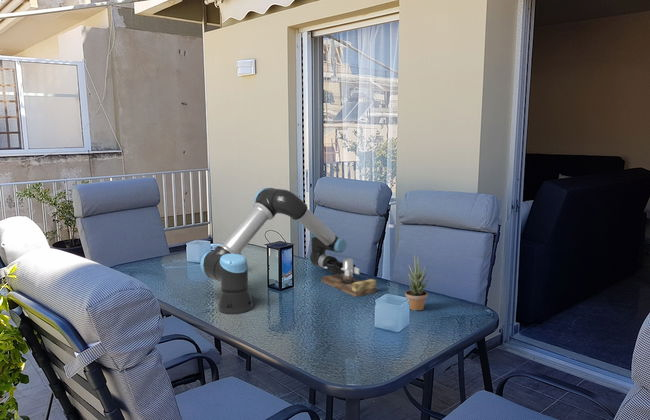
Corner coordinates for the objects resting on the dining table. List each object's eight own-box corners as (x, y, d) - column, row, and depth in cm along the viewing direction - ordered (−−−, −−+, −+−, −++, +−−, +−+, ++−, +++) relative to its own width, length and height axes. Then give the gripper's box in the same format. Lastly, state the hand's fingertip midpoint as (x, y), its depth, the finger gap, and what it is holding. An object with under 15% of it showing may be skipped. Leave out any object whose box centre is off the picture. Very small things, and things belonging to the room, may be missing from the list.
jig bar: (355, 296, 242) (355, 284, 242) (321, 281, 268) (321, 270, 267) (376, 292, 249) (376, 280, 248) (341, 277, 274) (341, 266, 273)
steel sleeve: (346, 286, 255) (346, 261, 253) (340, 284, 259) (340, 259, 257) (354, 285, 257) (354, 259, 255) (349, 282, 261) (349, 257, 259)
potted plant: (413, 303, 232) (414, 249, 228) (431, 308, 225) (432, 253, 222) (400, 309, 225) (400, 253, 221) (418, 314, 219) (419, 257, 215)
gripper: (342, 267, 277) (368, 277, 258) (313, 272, 268) (338, 283, 248) (342, 253, 276) (369, 262, 257) (313, 258, 267) (338, 267, 247)
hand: (354, 272), depth 252 cm, fingers closed on steel sleeve, 5 cm apart
